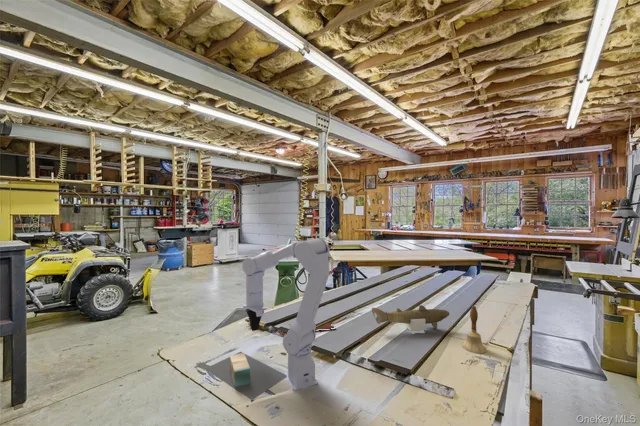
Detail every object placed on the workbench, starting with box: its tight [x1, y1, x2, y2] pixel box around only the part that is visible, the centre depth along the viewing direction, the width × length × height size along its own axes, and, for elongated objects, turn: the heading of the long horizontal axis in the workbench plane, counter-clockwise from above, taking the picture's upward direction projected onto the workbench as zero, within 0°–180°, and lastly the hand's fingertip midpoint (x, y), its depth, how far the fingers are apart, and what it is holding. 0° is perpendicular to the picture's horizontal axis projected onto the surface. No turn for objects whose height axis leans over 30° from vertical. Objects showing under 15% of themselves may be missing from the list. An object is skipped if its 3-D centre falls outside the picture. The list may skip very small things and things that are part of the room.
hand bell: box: [461, 305, 487, 354], centre depth 109 cm, size 8×8×16 cm
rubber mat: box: [204, 351, 287, 403], centre depth 92 cm, size 24×14×1 cm, turn 52°
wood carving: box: [371, 304, 450, 331], centre depth 123 cm, size 9×35×11 cm, turn 98°
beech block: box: [229, 352, 250, 387], centre depth 90 cm, size 4×4×10 cm
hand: (254, 329), depth 100 cm, fingers closed
